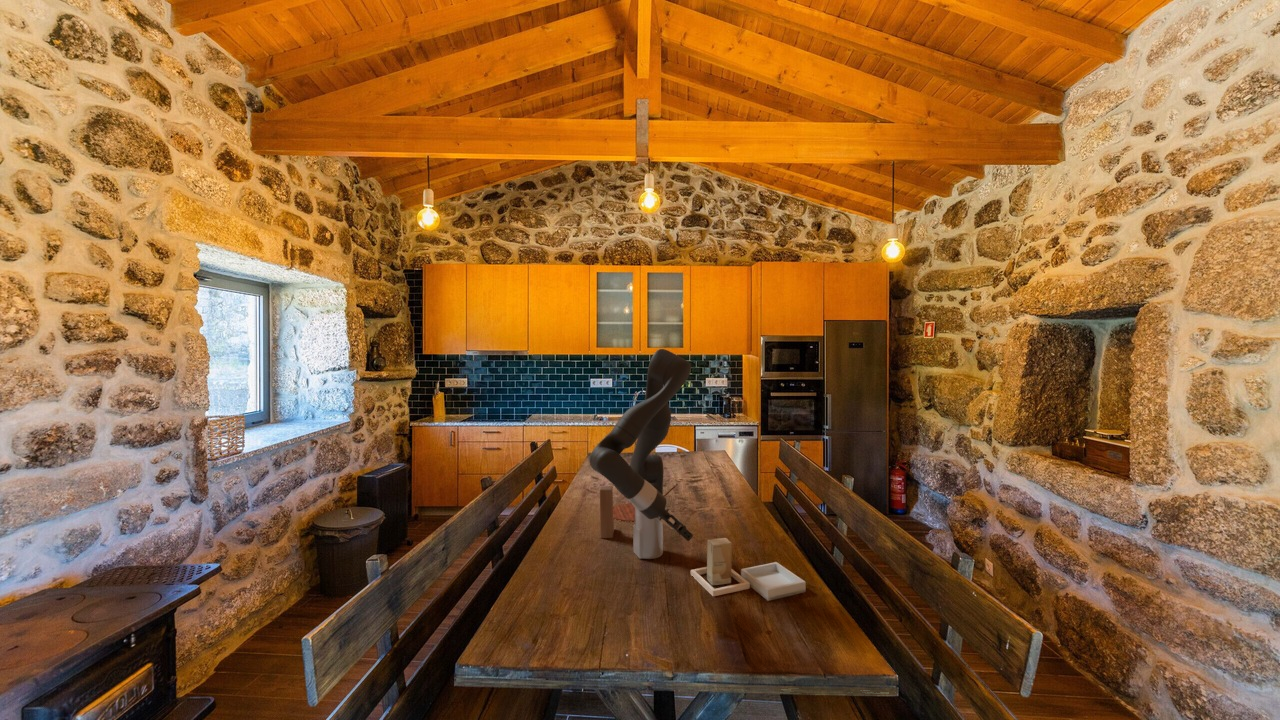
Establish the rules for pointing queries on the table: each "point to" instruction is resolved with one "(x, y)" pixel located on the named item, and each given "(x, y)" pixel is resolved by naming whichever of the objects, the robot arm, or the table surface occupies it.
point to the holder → (722, 590)
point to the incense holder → (627, 511)
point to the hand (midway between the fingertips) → (683, 532)
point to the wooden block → (606, 512)
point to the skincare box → (719, 561)
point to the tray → (773, 581)
